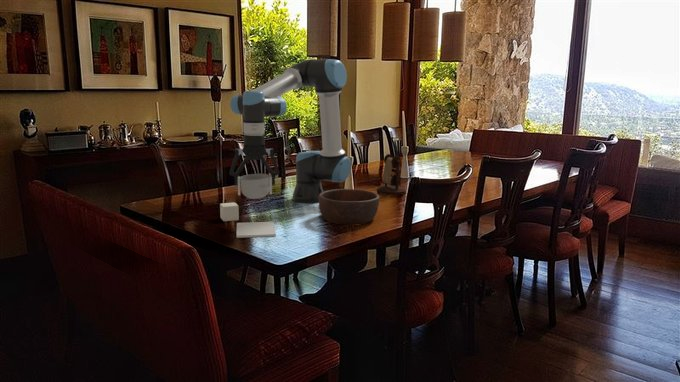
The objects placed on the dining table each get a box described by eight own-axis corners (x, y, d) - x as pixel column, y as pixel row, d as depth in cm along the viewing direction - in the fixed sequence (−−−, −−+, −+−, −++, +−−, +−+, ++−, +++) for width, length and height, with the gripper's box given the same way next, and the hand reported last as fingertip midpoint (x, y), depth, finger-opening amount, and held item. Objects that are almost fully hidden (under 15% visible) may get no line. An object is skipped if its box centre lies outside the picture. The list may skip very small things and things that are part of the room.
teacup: (264, 201, 183) (264, 179, 182) (235, 199, 185) (235, 177, 184) (276, 193, 197) (276, 172, 195) (249, 191, 199) (249, 171, 197)
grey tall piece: (370, 192, 263) (372, 153, 259) (394, 190, 270) (396, 152, 266) (387, 198, 250) (389, 157, 246) (411, 195, 257) (413, 156, 253)
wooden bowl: (332, 230, 196) (332, 204, 194) (309, 214, 218) (309, 190, 216) (389, 224, 206) (390, 199, 204) (362, 209, 228) (363, 186, 226)
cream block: (234, 216, 213) (234, 202, 212) (238, 220, 208) (238, 205, 207) (220, 217, 210) (220, 203, 209) (224, 221, 205) (223, 206, 204)
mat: (273, 223, 203) (273, 221, 203) (275, 236, 187) (275, 234, 187) (236, 224, 201) (236, 222, 200) (236, 237, 184) (236, 235, 184)
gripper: (220, 135, 180) (222, 196, 185) (287, 135, 185) (287, 195, 189) (221, 133, 188) (223, 192, 192) (285, 133, 192) (285, 191, 196)
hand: (255, 193), depth 191 cm, fingers closed on teacup, 11 cm apart
